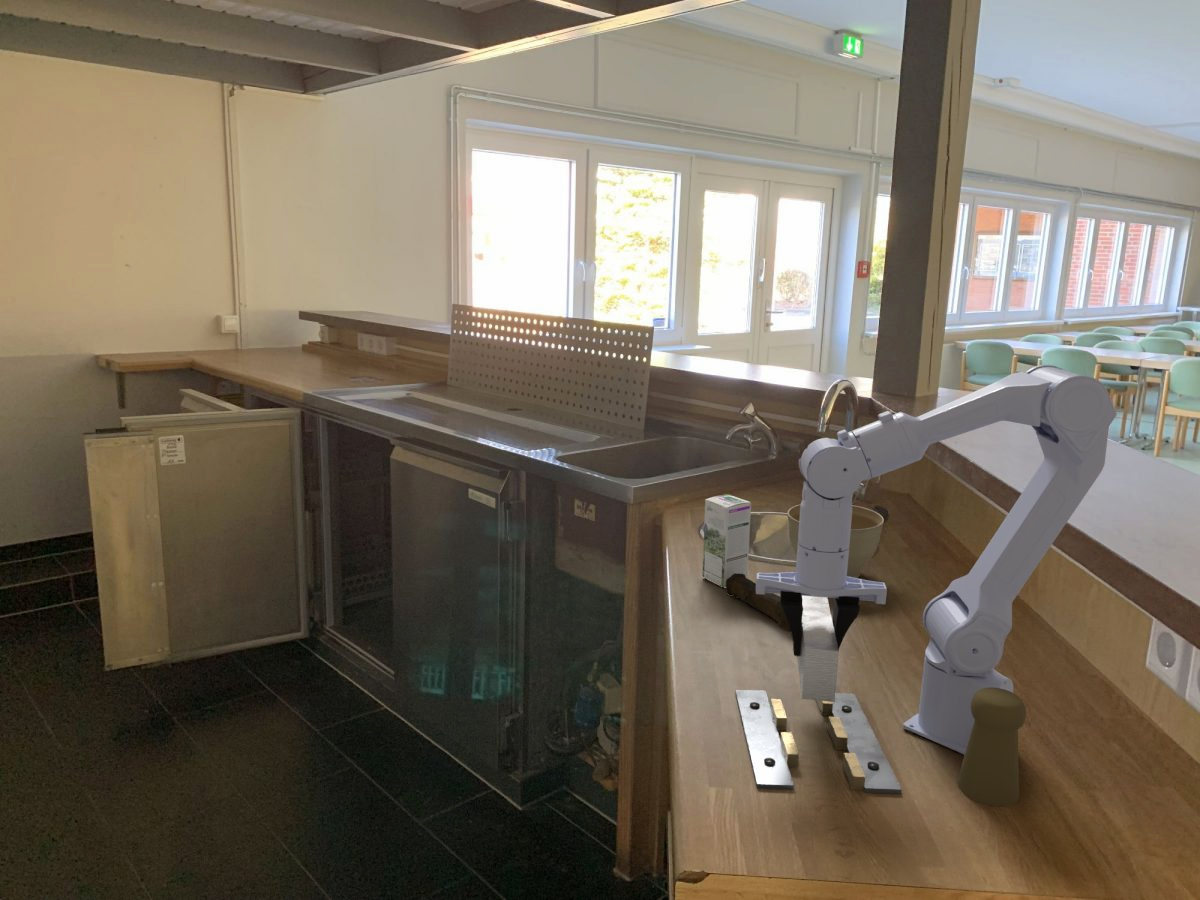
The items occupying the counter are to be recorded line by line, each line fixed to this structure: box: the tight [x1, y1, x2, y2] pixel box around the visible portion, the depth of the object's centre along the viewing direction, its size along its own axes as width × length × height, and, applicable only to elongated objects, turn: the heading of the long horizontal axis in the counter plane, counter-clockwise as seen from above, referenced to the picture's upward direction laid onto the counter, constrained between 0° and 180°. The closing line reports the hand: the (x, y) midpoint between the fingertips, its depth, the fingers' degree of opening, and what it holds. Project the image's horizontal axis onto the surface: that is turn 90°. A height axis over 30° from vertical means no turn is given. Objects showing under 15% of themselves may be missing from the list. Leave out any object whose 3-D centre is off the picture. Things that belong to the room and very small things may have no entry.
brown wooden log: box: [725, 573, 791, 633], centre depth 133 cm, size 19×4×5 cm, turn 25°
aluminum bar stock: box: [796, 596, 840, 702], centre depth 101 cm, size 4×16×6 cm, turn 170°
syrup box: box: [701, 494, 752, 588], centre depth 146 cm, size 6×6×14 cm
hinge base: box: [735, 689, 903, 795], centre depth 100 cm, size 15×20×2 cm
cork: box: [956, 687, 1027, 807], centre depth 90 cm, size 6×6×11 cm
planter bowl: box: [786, 503, 885, 579], centre depth 151 cm, size 16×16×11 cm
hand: (814, 653), depth 101 cm, fingers closed on aluminum bar stock, 3 cm apart
